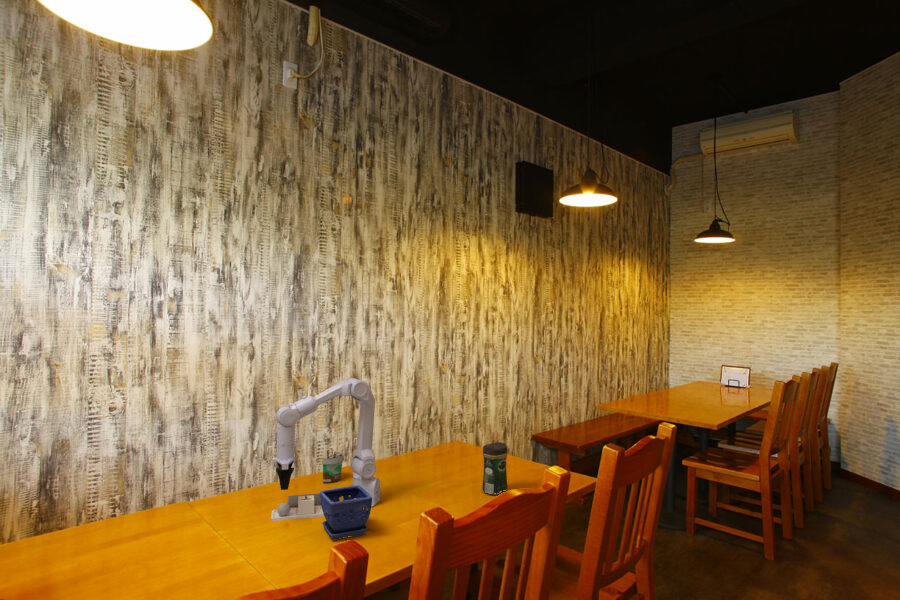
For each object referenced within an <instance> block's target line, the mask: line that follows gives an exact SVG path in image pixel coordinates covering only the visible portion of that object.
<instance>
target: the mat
mask: <svg viewBox="0 0 900 600" xmlns="http://www.w3.org/2000/svg"><path fill="white" fill-rule="evenodd" d="M309 495H314V506H321V501H320V492H319V493H309V494H305V493H304V494H295V495H288V498H287V500H288V501H287V503H288V504H289V506H290V508H298V496H309Z"/></svg>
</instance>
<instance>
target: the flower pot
mask: <svg viewBox="0 0 900 600" xmlns="http://www.w3.org/2000/svg"><path fill="white" fill-rule="evenodd" d="M319 493H320V501H321V505H320V506H321V507H322V511H323V514H324V516H323V517H324V519H325V520H324V521H321V524H322V526H323V527H324V529H325V530H326V533H327V534H328V535H329V537H330V539H332V540H333V539H337V540H340V539H339V538H343V537H348V536H354V537H358V536H357V535H359V536H362V535H364V534H365V533H366V532H368V529H369V528H368V526H367V525H366V524H367V523H368V520H369V517H370V514H371V511H372V507H371V506H372V497H371V495H370V494H369V493H368V492H367V491H365V490H364V489H363V488H362V487H361V486H359V485H355V486H353V485H349V486H341V487H336V488H330V489H325V490H321V491H319ZM341 497H343V499H342V500H340V498H341ZM354 498H356V499H354ZM343 539H344V538H343Z"/></svg>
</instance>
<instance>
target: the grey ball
mask: <svg viewBox="0 0 900 600" xmlns="http://www.w3.org/2000/svg"><path fill="white" fill-rule="evenodd" d="M290 509H291V507H290V506H289V504H288V502H282V503H280V504H279V505H278V506H277V510H278V513H279V515H281V516H285V515H287V514H288V513H289V512H290Z"/></svg>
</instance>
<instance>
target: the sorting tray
mask: <svg viewBox="0 0 900 600" xmlns="http://www.w3.org/2000/svg"><path fill="white" fill-rule="evenodd" d="M318 517H319V518H320V517H325V516H324V514H323V511H322V507H321V505H314V514H310V515H299V516H298V507H291V508H290V512H289V513H288V514H287V515H285V516H281V515H279V513H278V509H273V510H272V509H271V517H270V521H271V522H274V521H275V522H276V521H277V522H278V521H284V520H285V521H287V520H296V519H308V518H318Z"/></svg>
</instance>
